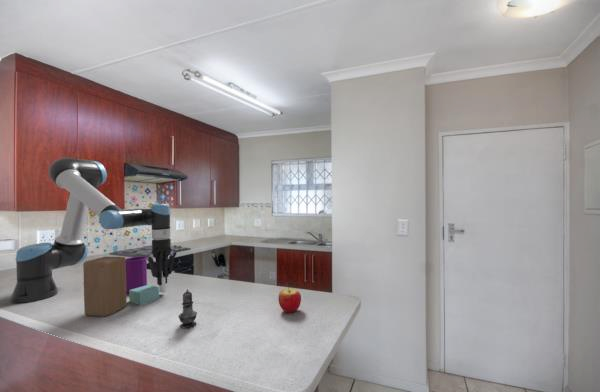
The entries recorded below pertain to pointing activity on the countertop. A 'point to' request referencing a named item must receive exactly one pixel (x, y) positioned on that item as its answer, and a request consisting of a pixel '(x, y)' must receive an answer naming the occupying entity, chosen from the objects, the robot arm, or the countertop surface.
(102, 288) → the wooden block
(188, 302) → the grey chess piece
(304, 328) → the countertop surface
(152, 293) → the teal block
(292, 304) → the apple
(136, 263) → the mug
